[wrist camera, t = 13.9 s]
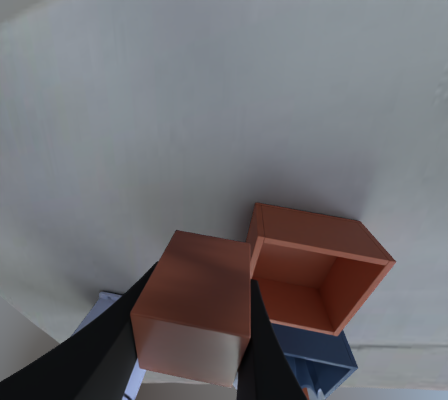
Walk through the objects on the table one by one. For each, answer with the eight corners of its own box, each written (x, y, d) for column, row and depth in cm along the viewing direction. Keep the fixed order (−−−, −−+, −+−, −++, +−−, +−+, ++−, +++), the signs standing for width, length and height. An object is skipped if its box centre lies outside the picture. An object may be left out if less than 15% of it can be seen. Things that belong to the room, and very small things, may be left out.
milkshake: (269, 323, 25) (279, 444, 17) (312, 326, 25) (347, 454, 16) (268, 342, 27) (277, 458, 19) (308, 346, 27) (337, 468, 18)
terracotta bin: (237, 273, 22) (234, 315, 18) (255, 202, 18) (257, 235, 13) (320, 289, 22) (337, 336, 18) (360, 221, 17) (396, 262, 13)
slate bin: (247, 343, 29) (247, 386, 24) (262, 304, 24) (265, 348, 20) (311, 356, 28) (322, 402, 24) (338, 319, 24) (358, 368, 20)
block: (175, 279, 13) (138, 369, 9) (175, 229, 11) (129, 313, 7) (237, 292, 13) (231, 388, 9) (250, 242, 11) (251, 338, 7)
